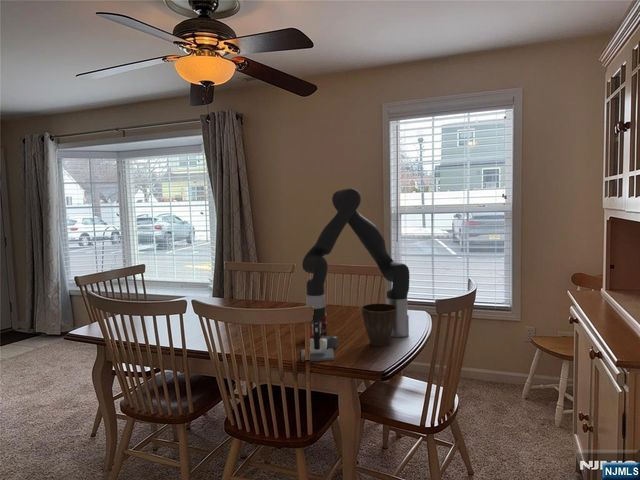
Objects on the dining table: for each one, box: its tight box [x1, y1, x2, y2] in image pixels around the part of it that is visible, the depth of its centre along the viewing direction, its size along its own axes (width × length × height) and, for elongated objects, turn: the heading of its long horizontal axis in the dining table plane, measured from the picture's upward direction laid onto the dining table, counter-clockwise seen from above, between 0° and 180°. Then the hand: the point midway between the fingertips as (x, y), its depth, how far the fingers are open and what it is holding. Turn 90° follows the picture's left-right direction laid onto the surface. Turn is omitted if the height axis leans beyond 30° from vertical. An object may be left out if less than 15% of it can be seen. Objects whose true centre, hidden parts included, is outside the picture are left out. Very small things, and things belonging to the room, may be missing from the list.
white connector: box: [309, 337, 327, 352], centre depth 181 cm, size 9×4×4 cm, turn 91°
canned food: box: [309, 312, 328, 338], centre depth 205 cm, size 8×8×11 cm
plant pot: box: [361, 303, 397, 347], centre depth 193 cm, size 15×15×16 cm
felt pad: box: [300, 348, 335, 362], centre depth 181 cm, size 13×11×1 cm
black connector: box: [321, 335, 339, 349], centre depth 191 cm, size 9×4×4 cm, turn 91°
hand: (316, 347), depth 181 cm, fingers closed on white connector, 3 cm apart
